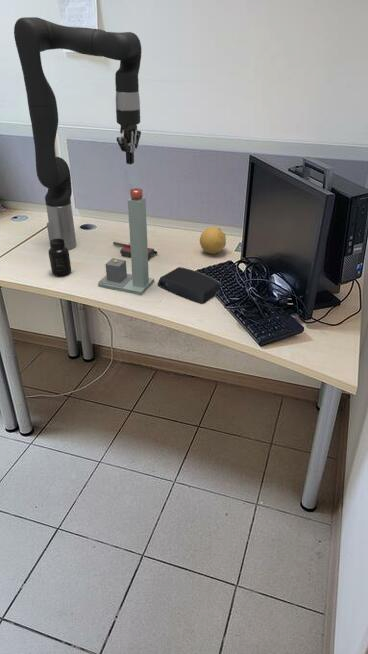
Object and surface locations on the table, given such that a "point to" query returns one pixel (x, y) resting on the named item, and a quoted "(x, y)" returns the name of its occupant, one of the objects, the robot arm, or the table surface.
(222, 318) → the table surface
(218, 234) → the stress ball
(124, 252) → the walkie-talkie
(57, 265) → the supplement bottle
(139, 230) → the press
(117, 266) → the block
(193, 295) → the external hard drive
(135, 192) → the plunger
